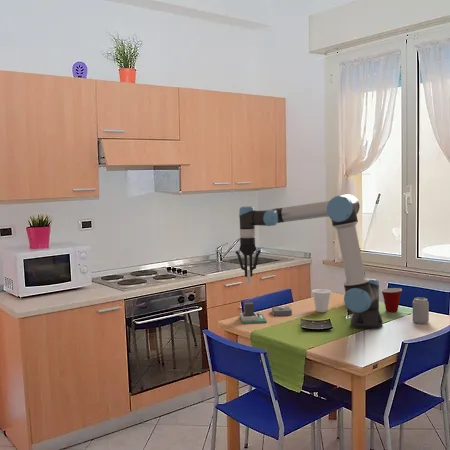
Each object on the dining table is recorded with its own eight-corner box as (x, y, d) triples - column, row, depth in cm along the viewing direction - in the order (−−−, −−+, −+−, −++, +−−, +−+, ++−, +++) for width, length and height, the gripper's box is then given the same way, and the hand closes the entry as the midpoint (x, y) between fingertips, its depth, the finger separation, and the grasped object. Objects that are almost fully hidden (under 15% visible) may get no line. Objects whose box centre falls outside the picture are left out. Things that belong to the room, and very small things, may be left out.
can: (429, 321, 268) (429, 297, 267) (427, 325, 261) (428, 300, 260) (413, 319, 271) (413, 296, 270) (411, 323, 265) (411, 299, 263)
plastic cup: (385, 307, 297) (385, 286, 296) (405, 310, 290) (405, 288, 289) (377, 311, 288) (377, 289, 287) (397, 314, 281) (397, 292, 280)
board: (266, 322, 273) (266, 316, 272) (242, 323, 272) (242, 318, 271) (262, 315, 287) (262, 310, 286) (239, 316, 286) (239, 311, 285)
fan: (291, 315, 286) (291, 309, 286) (274, 315, 286) (274, 310, 285) (288, 310, 295) (288, 305, 295) (272, 311, 294) (272, 306, 294)
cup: (330, 313, 287) (330, 293, 286) (311, 313, 289) (311, 292, 288) (331, 309, 297) (330, 289, 296) (312, 308, 299) (312, 288, 298)
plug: (253, 319, 276) (253, 304, 275) (245, 319, 275) (244, 304, 275) (252, 316, 281) (252, 301, 280) (244, 317, 280) (243, 302, 280)
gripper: (259, 235, 278) (260, 281, 280) (233, 236, 277) (235, 282, 279) (261, 237, 271) (262, 283, 273) (235, 238, 270) (236, 285, 272)
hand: (248, 283), depth 276 cm, fingers closed
